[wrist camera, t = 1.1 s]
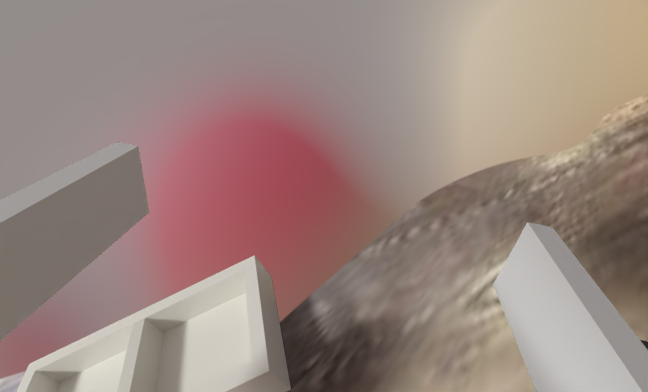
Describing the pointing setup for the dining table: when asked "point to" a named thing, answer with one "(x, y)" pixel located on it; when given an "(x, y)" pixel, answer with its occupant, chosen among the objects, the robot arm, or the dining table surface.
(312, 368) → the dining table surface
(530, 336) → the robot arm
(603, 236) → the dining table surface
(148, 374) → the cup carrier
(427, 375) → the dining table surface
